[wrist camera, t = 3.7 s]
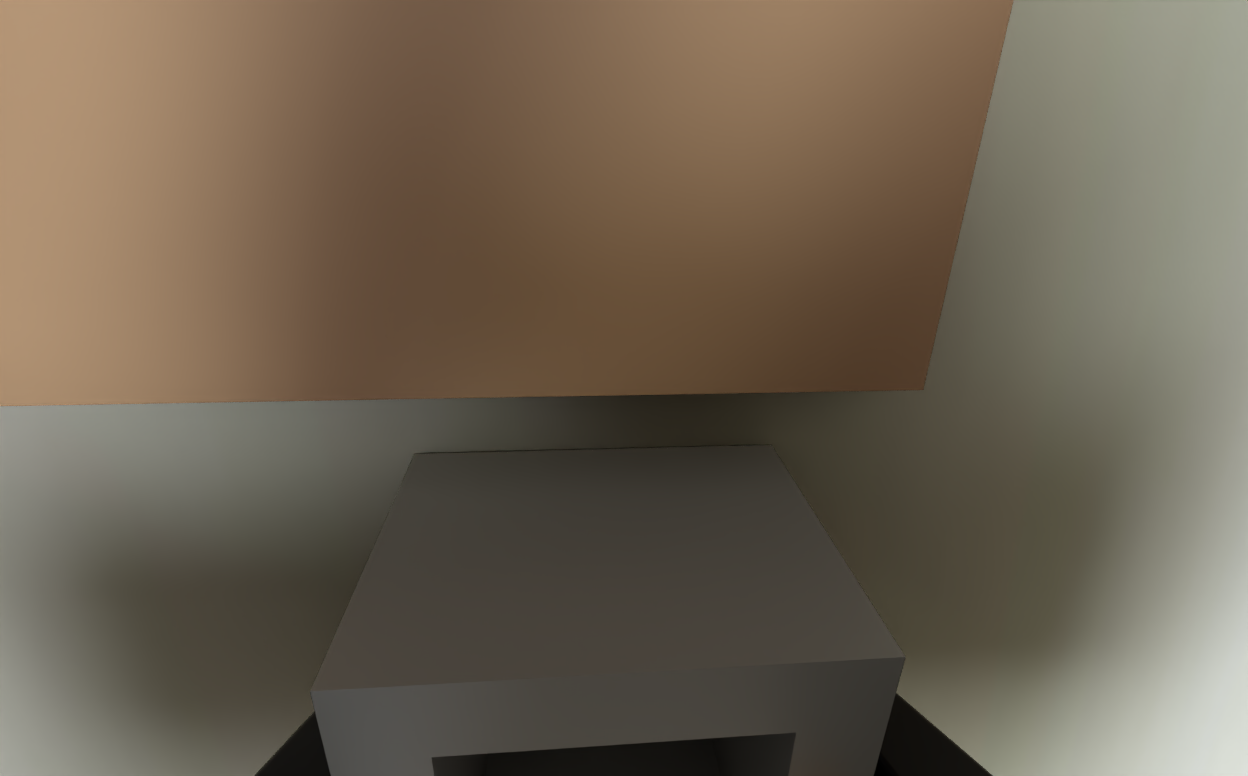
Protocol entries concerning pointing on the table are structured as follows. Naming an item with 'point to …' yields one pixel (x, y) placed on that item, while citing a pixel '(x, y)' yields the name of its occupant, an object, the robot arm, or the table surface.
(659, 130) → the wooden base plate
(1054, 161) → the table surface
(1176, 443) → the table surface
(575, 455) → the square gray frame
